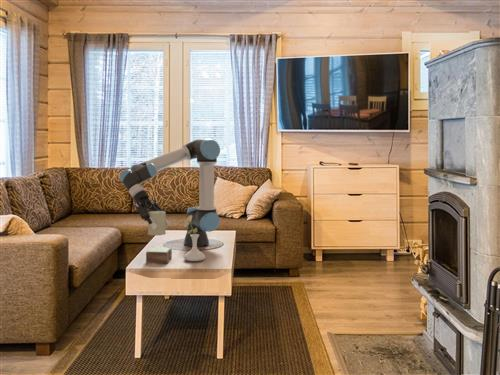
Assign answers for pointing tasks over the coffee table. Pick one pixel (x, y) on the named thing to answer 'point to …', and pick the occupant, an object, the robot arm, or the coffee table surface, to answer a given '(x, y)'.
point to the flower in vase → (194, 252)
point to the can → (157, 223)
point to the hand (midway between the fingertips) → (161, 226)
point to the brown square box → (159, 255)
